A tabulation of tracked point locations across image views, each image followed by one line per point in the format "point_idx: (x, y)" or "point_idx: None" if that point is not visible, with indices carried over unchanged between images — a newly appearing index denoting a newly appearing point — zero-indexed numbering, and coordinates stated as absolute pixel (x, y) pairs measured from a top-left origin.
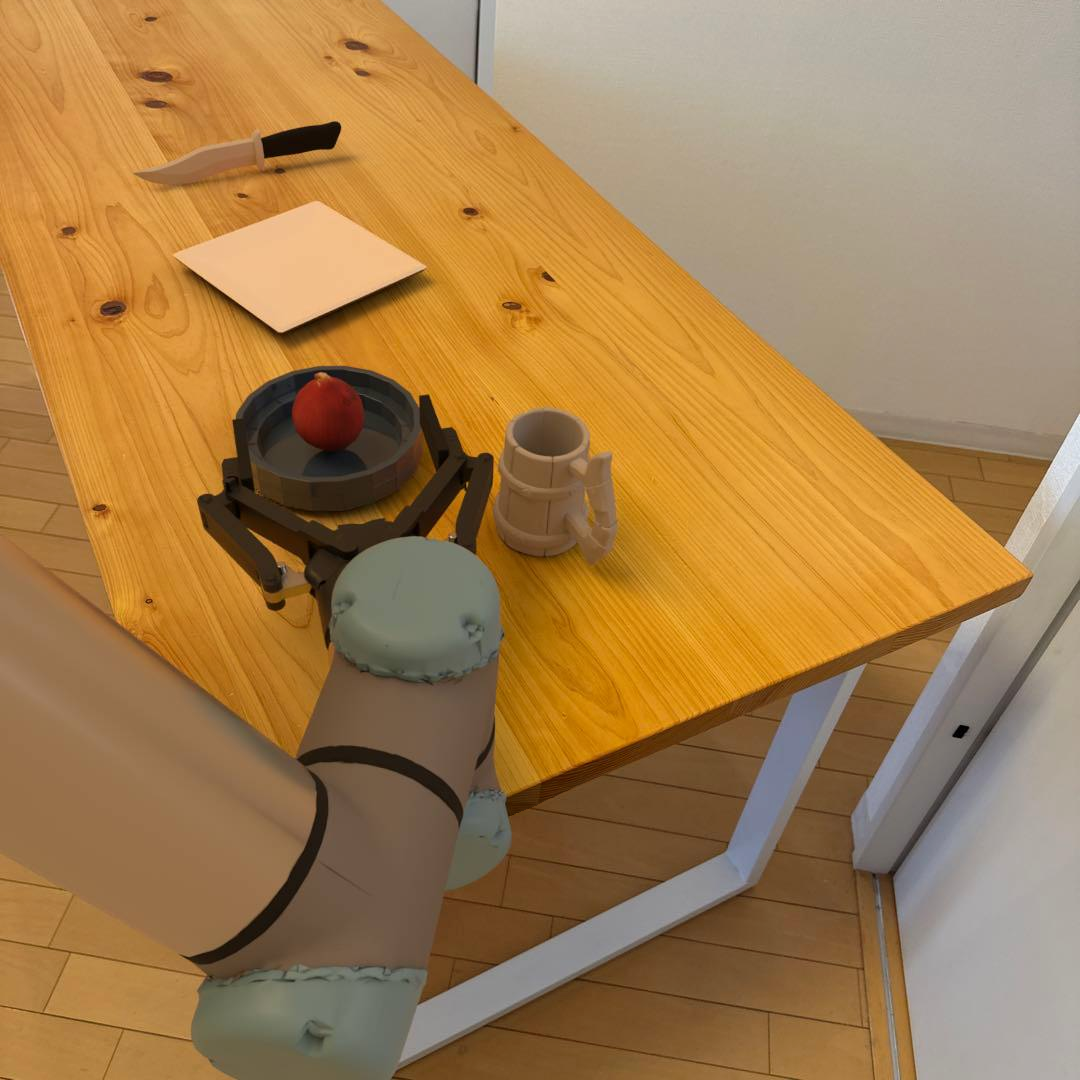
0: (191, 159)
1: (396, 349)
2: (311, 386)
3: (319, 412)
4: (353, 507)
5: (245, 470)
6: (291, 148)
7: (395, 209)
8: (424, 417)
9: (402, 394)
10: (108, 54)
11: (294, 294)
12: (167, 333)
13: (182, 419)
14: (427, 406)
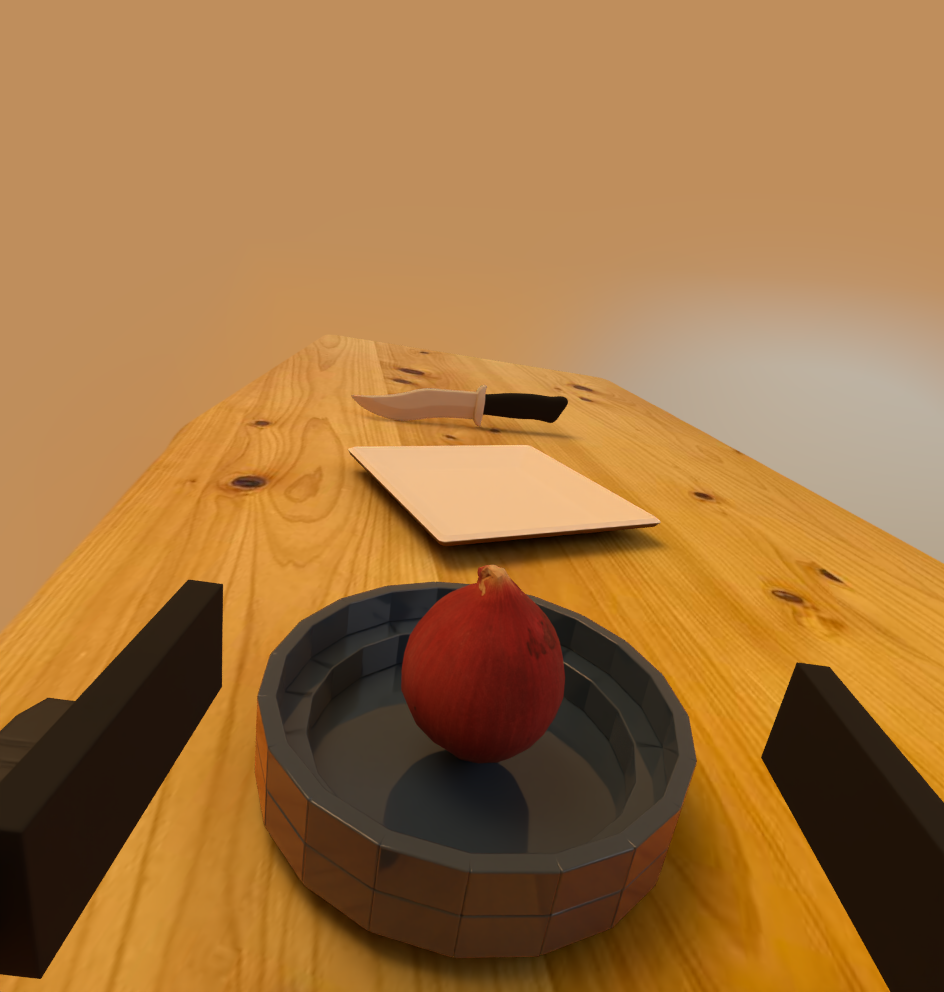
0: (411, 395)
1: (611, 609)
2: (464, 593)
3: (465, 655)
4: (481, 956)
5: (37, 778)
6: (512, 410)
7: (613, 476)
8: (828, 743)
9: (644, 673)
10: (381, 357)
11: (476, 514)
12: (293, 517)
13: (229, 622)
14: (844, 705)
